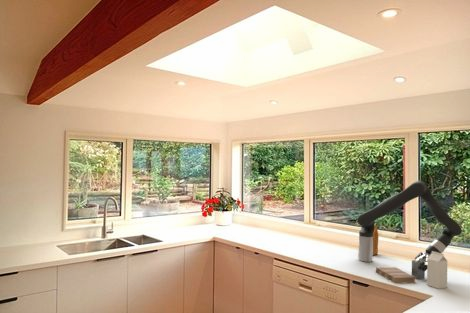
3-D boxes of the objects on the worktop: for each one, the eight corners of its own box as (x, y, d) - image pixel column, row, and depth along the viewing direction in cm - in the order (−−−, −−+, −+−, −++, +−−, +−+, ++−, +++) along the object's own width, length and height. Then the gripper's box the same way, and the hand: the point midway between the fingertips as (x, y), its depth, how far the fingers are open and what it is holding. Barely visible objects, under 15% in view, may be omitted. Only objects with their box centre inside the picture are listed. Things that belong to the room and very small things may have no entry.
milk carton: (438, 289, 195) (439, 254, 195) (426, 284, 201) (427, 251, 202) (447, 287, 198) (447, 253, 198) (435, 283, 204) (436, 250, 204)
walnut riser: (375, 272, 223) (375, 267, 223) (394, 271, 225) (395, 267, 225) (394, 282, 203) (394, 277, 203) (415, 282, 205) (415, 277, 205)
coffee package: (365, 250, 279) (365, 223, 280) (379, 254, 270) (380, 225, 270) (358, 252, 273) (358, 224, 274) (373, 256, 264) (373, 226, 264)
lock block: (411, 276, 216) (411, 259, 216) (419, 276, 217) (419, 259, 217) (416, 279, 211) (417, 261, 212) (424, 279, 212) (424, 261, 212)
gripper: (424, 242, 223) (406, 260, 221) (440, 247, 209) (422, 267, 207) (431, 250, 223) (414, 269, 222) (448, 256, 209) (430, 276, 208)
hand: (418, 268), depth 214 cm, fingers open, 8 cm apart
